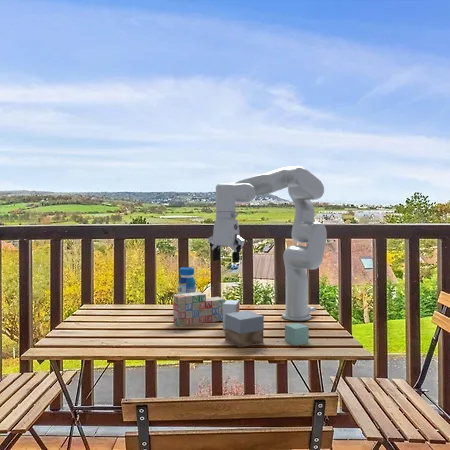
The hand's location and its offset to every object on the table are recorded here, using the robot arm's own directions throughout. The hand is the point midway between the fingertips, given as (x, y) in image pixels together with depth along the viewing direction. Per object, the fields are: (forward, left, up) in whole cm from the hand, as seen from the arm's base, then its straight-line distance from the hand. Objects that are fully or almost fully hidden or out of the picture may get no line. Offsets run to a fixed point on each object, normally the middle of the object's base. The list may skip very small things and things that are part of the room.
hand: (225, 261), depth 174 cm
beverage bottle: (-3, -43, -28) cm, 52 cm away
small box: (-6, -7, -28) cm, 30 cm away
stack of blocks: (+1, -22, -28) cm, 36 cm away
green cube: (-17, +21, -28) cm, 39 cm away
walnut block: (-1, +11, -28) cm, 31 cm away
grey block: (-1, +11, -23) cm, 26 cm away
